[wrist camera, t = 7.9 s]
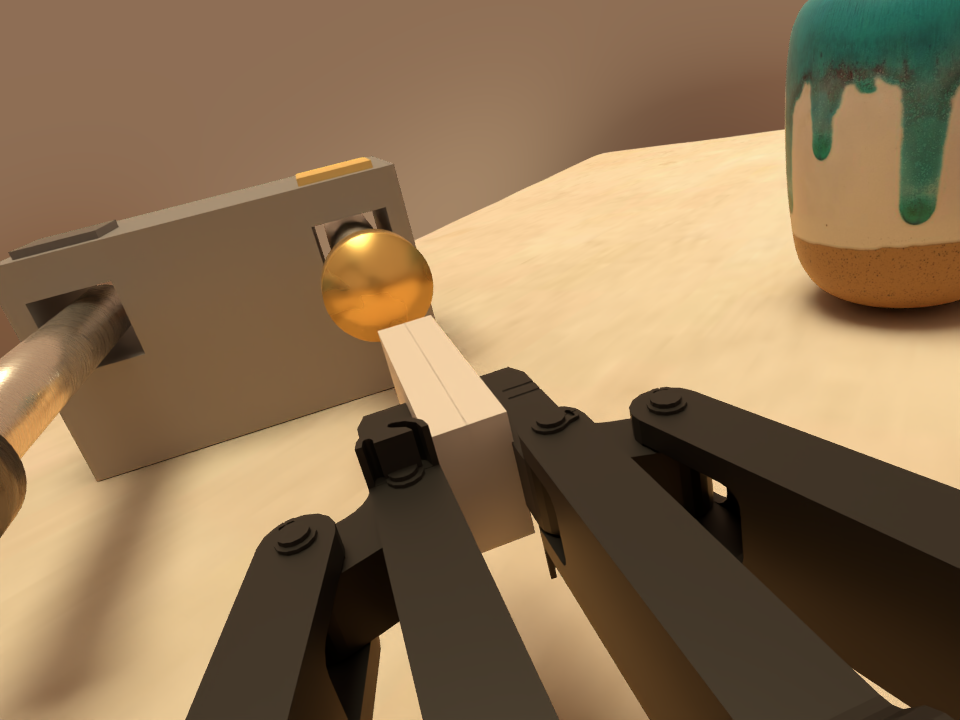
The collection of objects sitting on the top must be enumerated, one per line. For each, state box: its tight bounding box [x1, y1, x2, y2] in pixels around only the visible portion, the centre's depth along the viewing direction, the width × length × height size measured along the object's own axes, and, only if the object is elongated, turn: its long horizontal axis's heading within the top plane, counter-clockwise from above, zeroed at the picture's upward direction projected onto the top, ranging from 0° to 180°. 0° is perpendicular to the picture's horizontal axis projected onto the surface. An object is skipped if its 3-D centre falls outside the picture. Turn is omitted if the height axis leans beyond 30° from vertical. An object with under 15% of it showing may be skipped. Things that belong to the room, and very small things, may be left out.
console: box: [0, 156, 435, 481], centre depth 38 cm, size 20×10×12 cm, turn 106°
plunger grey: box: [0, 285, 132, 538], centre depth 26 cm, size 5×20×5 cm, turn 16°
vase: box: [785, 0, 960, 308], centre depth 30 cm, size 11×11×19 cm
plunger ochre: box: [321, 214, 433, 342], centre depth 36 cm, size 5×20×5 cm, turn 16°
